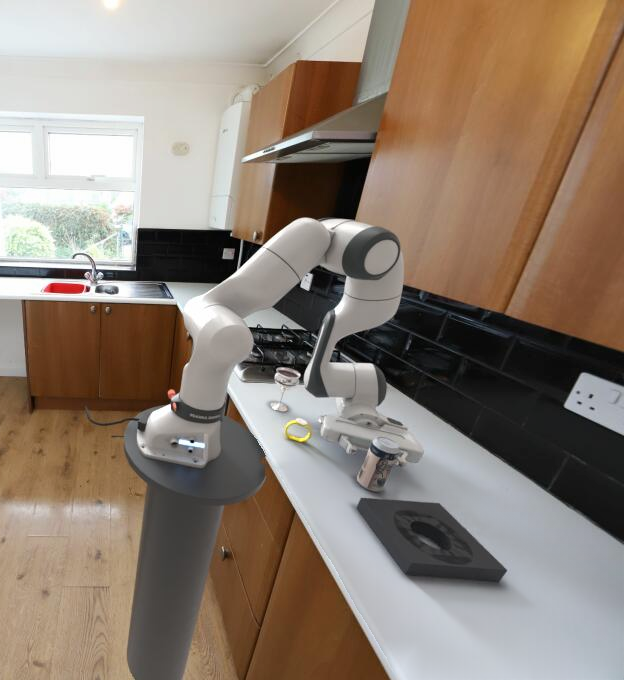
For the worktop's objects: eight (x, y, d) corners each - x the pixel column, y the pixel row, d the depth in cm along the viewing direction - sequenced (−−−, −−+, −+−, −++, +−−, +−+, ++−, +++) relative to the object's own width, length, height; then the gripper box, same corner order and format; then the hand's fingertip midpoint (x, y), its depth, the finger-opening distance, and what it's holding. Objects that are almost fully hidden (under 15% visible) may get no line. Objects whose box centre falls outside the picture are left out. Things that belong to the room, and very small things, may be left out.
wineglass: (294, 413, 105) (305, 378, 101) (272, 412, 105) (282, 377, 101) (284, 401, 112) (294, 367, 107) (263, 400, 111) (272, 366, 107)
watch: (283, 439, 94) (288, 420, 91) (283, 433, 96) (288, 415, 94) (307, 446, 91) (314, 427, 89) (307, 440, 94) (313, 421, 91)
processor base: (405, 574, 60) (411, 563, 59) (356, 508, 73) (360, 497, 72) (499, 582, 60) (507, 570, 59) (433, 513, 73) (439, 503, 72)
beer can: (373, 495, 77) (393, 452, 72) (351, 480, 81) (369, 438, 76) (385, 489, 79) (406, 446, 74) (364, 474, 83) (382, 433, 78)
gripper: (320, 404, 93) (328, 433, 81) (414, 425, 86) (437, 461, 74) (314, 423, 95) (320, 455, 83) (404, 446, 88) (425, 484, 76)
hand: (376, 458), depth 78 cm, fingers open, 8 cm apart
